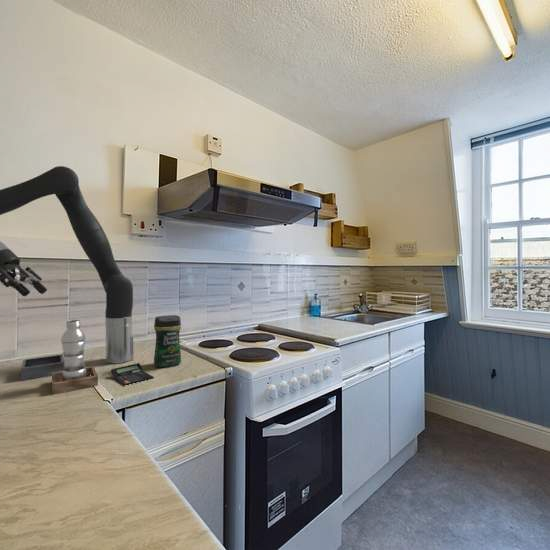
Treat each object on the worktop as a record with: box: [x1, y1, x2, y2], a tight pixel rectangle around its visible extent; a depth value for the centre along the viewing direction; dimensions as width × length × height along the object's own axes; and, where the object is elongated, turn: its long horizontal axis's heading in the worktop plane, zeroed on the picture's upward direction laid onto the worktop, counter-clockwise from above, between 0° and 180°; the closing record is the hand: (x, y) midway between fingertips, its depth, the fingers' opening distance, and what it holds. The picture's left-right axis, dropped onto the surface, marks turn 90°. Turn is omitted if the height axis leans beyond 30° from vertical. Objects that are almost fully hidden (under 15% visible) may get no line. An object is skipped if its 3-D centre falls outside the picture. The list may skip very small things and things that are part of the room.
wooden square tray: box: [51, 366, 99, 395], centre depth 100 cm, size 12×12×3 cm
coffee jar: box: [153, 314, 182, 368], centre depth 119 cm, size 10×8×19 cm
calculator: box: [110, 362, 154, 387], centre depth 106 cm, size 9×12×3 cm
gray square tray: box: [20, 354, 64, 382], centre depth 110 cm, size 12×12×4 cm
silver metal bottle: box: [60, 319, 87, 382], centre depth 99 cm, size 6×7×20 cm
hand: (36, 293), depth 101 cm, fingers open, 8 cm apart
